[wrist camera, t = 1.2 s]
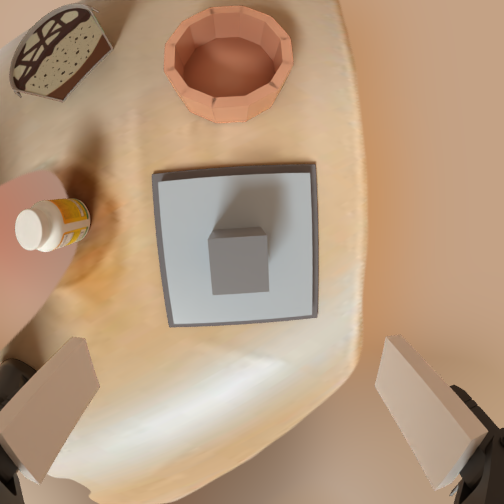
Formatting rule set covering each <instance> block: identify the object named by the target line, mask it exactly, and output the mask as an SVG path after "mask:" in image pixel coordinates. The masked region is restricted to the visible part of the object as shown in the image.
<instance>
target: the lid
mask: <svg viewBox="0 0 504 504" xmlns="http://www.w3.org/2000/svg"><path fill="white" fill-rule="evenodd" d="M158 190H159V204H160V217H161V228H162V238H163V248H164V257H165V265H166V273H167V281H168V288H169V295H170V302H171V308H172V315H173V321H174V324H192V323H215V322H233V321H249V320H262V319H274V318H286V317H296V316H306V315H312V274H313V266H312V208H311V183H310V173H276V174H252V175H233V176H218V177H205V178H193V179H182V180H172V181H163V182H158Z"/></svg>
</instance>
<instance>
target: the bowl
mask: <svg viewBox="0 0 504 504" xmlns="http://www.w3.org/2000/svg"><path fill="white" fill-rule="evenodd" d="M293 64H294V63H293V55H292V46H291V38H290V37H289V35H288V34H287V33H286V32H285V31H284V30H283V29H282V27H281V26H280V25H279V24H278V23H277V22H276V21H275V20H274V19H273V17H272V16H269V15H267V14H264V13H262V12H259V11H256V10H254V9H251V8H248V7H245V6H222V7H210V8H208V9H206V10H204V11H202V12H200V13H198V14H196V15H194V16H192V17H190V18H188V19H186V20H184V21H182V22H181V24H180V25H179V26H178V28H177V29H176V30H175V32H174V33H173V34H172V36H171V37H170V38H169V40H168V41H167V43H166V44H165V56H164V73H165V74H166V76H167V78H168V79H169V81H170V83H171V84H172V86H173V88H174V89H175V91H176V92H177V94H178V95H179V97H180V98H181V99H182V101H183V102H184V104H185V105H186V107H187V108H188V110H189V111H190V112H191V113H194V114H196V115H198V116H201V117H203V118H205V119H208V120H210V121H212V122H214V123H228V122H246V121H248V120H249V119H251V118H253V117H255V116H256V115H258V114H260V113H262V112H263V111H265V110H267V109H269V108H271V106H272V104H273V103H274V101H275V99H276V97H277V96H278V94H279V92H280V90H281V89H282V87H283V85H284V83H285V81H286V79H287V77H288V75H289V73H290V71H291V69H292V66H293Z"/></svg>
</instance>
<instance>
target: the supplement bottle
mask: <svg viewBox="0 0 504 504" xmlns="http://www.w3.org/2000/svg"><path fill="white" fill-rule="evenodd" d="M89 227H90V214H89V211H88V209H87V207H86V206H85V204H84V203H83V202H82V201H80V200H78V199H74V198H71V199H70V198H69V199H56V200H43V201H39V202H37V203H36V204H34V205H33V206H32V207H31V208H30V209H25V210H23V211H22V212H21V213H20V214H19V215H18V217H17V219H16V224H15V233H16V237H17V240H18V242H19V244H20V245H21V246H22V247H23V248H24V249H26V250H34V249H37V250H39V251H42V252H48V251H52V250H55V249H58V248H60V247H63V246H66V245H69V244H72V243H75V242H77V241H80V240H81V239H83V238H84V237H85V236H86V234H87V233H88V230H89Z"/></svg>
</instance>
